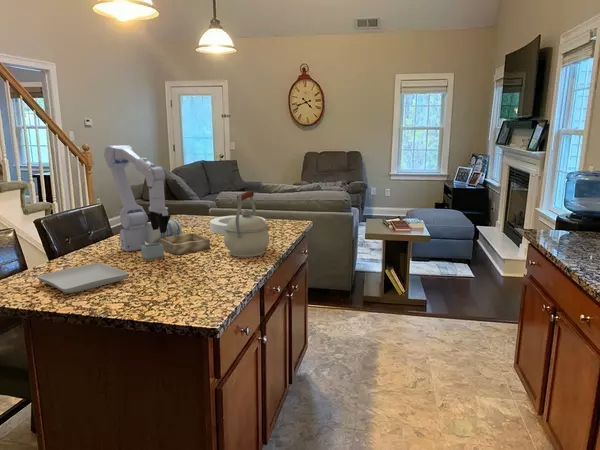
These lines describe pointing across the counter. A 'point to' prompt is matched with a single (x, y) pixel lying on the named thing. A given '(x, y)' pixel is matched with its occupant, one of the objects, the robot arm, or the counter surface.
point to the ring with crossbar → (221, 224)
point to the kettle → (246, 231)
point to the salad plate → (83, 277)
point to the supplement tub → (154, 235)
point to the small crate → (152, 251)
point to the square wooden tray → (184, 243)
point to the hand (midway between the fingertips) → (159, 231)
